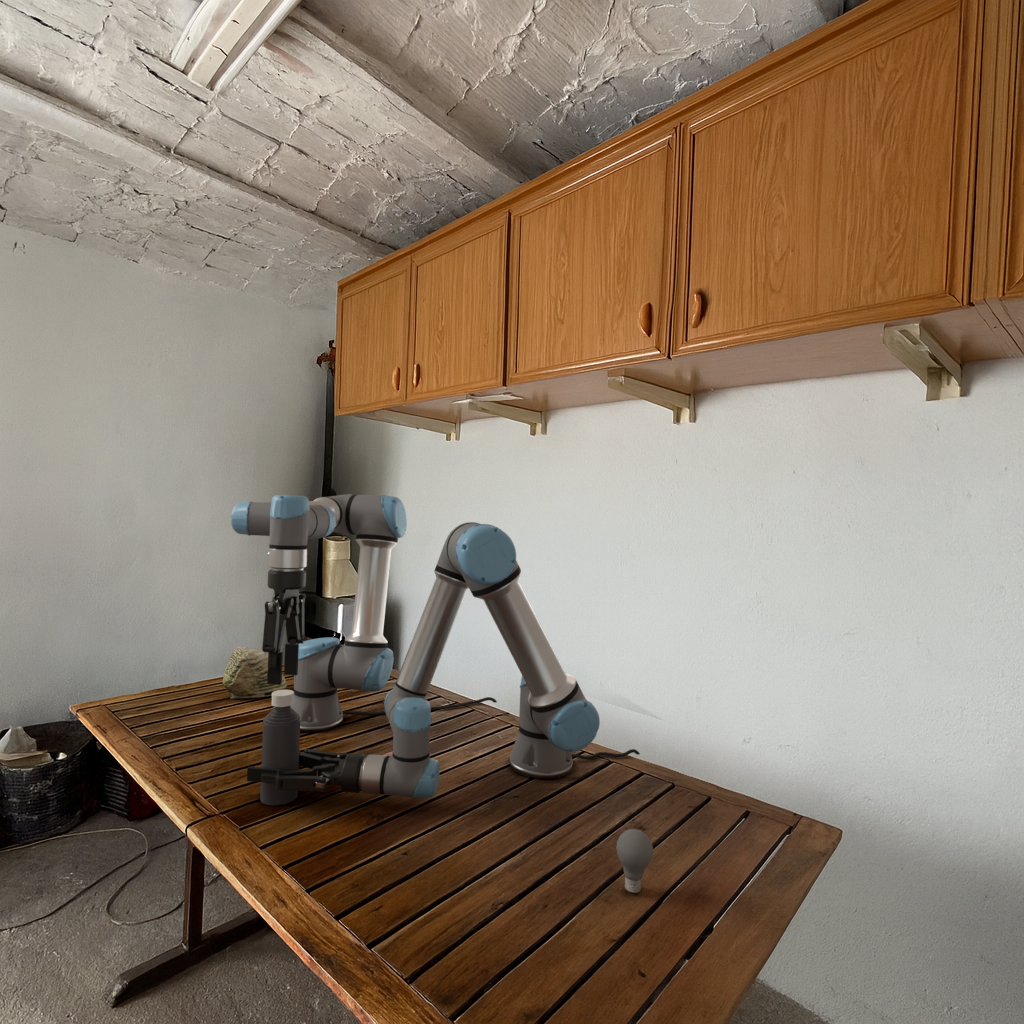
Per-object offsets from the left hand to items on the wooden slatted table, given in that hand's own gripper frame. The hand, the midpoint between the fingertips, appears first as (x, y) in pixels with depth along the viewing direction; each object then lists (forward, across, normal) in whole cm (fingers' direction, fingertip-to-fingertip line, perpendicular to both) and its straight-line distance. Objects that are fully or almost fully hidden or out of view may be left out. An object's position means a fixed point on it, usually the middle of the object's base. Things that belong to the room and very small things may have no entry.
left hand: (282, 678), depth 132 cm
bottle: (+25, 0, 0) cm, 25 cm away
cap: (+3, 0, 0) cm, 3 cm away
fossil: (+25, -62, -39) cm, 77 cm away
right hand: (+19, 0, -5) cm, 19 cm away
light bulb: (+25, +19, +72) cm, 78 cm away
